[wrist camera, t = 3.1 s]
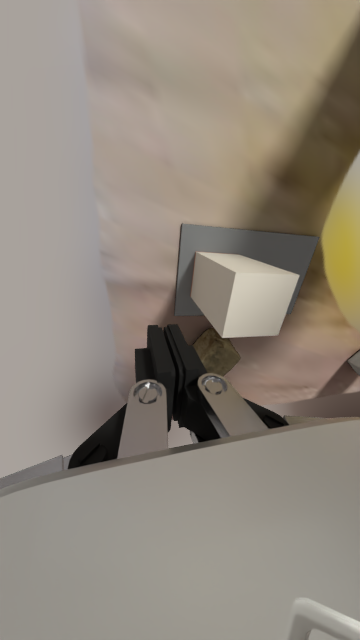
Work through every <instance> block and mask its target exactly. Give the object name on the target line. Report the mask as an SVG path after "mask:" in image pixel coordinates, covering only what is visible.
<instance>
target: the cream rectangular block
mask: <svg viewBox="0 0 360 640" xmlns="http://www.w3.org/2000/svg"><path fill="white" fill-rule="evenodd" d="M299 276H300V275H298V274H295V273H292V272H289V271H286V270H283V269H280V268H277V267H274V266H271V265H268V264H265V263H263V262H260V261H257V260H254V259H251V258H248V257H245V256H242V255H239V254H226V253H210V252H195V260H194V269H193V277H192V286H191V295H190V297H191V298H192V299H193V301H194V302H195V303H196V305H197V306H198V307H199V308H200V310H201V311H202V312H203V314H204V315H205V316H206V318H207V319H208V320H209V322H210V323H211V324H212V326H213V327H214V328H215V329H216V331H217V332H218V333H219V335H220V336H221V337H222V338H234V337H255V336H277V335H278V334H279V331H280V328H281V326H282V323H283V320H284V317H285V315H286V312H287V309H288V306H289V303H290V301H291V298H292V295H293V292H294V290H295V287H296V284H297V281H298V278H299Z"/></svg>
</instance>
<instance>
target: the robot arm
mask: <svg viewBox="0 0 360 640" xmlns="http://www.w3.org/2000/svg"><path fill="white" fill-rule="evenodd" d="M135 371H136V384H134V385H133V387H132V388H131V390H130V392H129V397H128V403H127V404H125V405H124V406H123V407H122V408H121V409H120V410H119V411H118V412H117V413H116V414H114V415H113V416H112V417H111V418H110V419H109V420H108V421H107V422H106V423H104V424H103V425H102V426H101V427H100V428H99V429H98V430H97V431H96V432H94V433H93V434H92V435H91V436H90V437H89V438H88V439H87V440H86V441H85V442H83V443H82V444H81V445H80V446H79V447H78V448H77V449H76V451H75V452H74V453H73V454H72V455H69V456H67V457H64V458H63V456H62V455H60V456H58V457H55V458H53V459H50V460H48V461H45V462H42V463H40V464H37V465H34V466H32V467H29V468H26V469H24V470H21V471H19V472H16V473H14V474H11V475H8V476H5V477H3V478H0V640H360V417H342V418H333V419H326V418H315V417H300V416H284V417H283V418H282V417H281V416H280V415H278V414H276V413H274V412H272V411H270V410H268V409H266V408H264V407H262V406H259V405H257V404H255V403H253V402H251V401H249V400H247V399H244V398H242V397H241V396H240V394H239V393H238V392H237V391H236V390H235V388H234V387H233V386H232V385H231V384H230V383H229V381H228V380H227V379H225V378H224V377H222V376H221V375H218V374H214V373H208V372H207V371H206V369H205V367H204V365H203V363H202V361H201V359H200V357H199V356H198V354H197V352H196V350H195V348H194V347H193V346H192V345H191V346H188V345H187V343H186V341H185V339H184V337H183V335H182V333H181V331H180V329H179V327H178V325H177V324H174V325H167V327H164V332H163V330H162V328H161V327H160V328H158V325H148V330H147V348H143V349H135ZM172 415H173V419H174V421H178V424H179V428H181V427H185V428H187V429H188V430H190V435H191V439H192V441H193V443H194V444H190V445H184V446H180V447H174V448H169V449H168V432H169V431H170V428H171V419H172Z"/></svg>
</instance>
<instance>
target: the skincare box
mask: <svg viewBox="0 0 360 640" xmlns="http://www.w3.org/2000/svg"><path fill="white" fill-rule="evenodd" d="M348 363H349V364H350V365H351V367H352V368H353V369H354V370H355V372H356V373H357V374H358V375H360V351H358V352H357V353H356V354H355V355H354V356H353V357H351V358H350V359H349V360H348Z"/></svg>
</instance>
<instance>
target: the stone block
mask: <svg viewBox="0 0 360 640" xmlns="http://www.w3.org/2000/svg"><path fill="white" fill-rule="evenodd" d="M192 346H193V347H194V348H195V350H196V352H197V354H198V356H199V357H200V359H201V361H202V363H203V365H204V367H205V369H206V371H207V372H208V373H214V374H218V375H221V376H222V377H223V376H224V375H225V374H226V373H227V372H229V371H230V370H231V369H232V368H233V367H234V365H235V364H236V363H237V362H238V361H239V360H240V356H239V354H238V352H237V351H236V350H235V348H234V347H233V345H232V344H231V342H230V340H229V338H222V337H221V336H220V335H219V333H218V332H217V331H216V329H214V328H209V329H208V330H206V331H205V332H204V333H203V334H202V335H201V336H200V337H199V338H198V339H197V341H196V342H195V343H194V344H193V345H192Z"/></svg>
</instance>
